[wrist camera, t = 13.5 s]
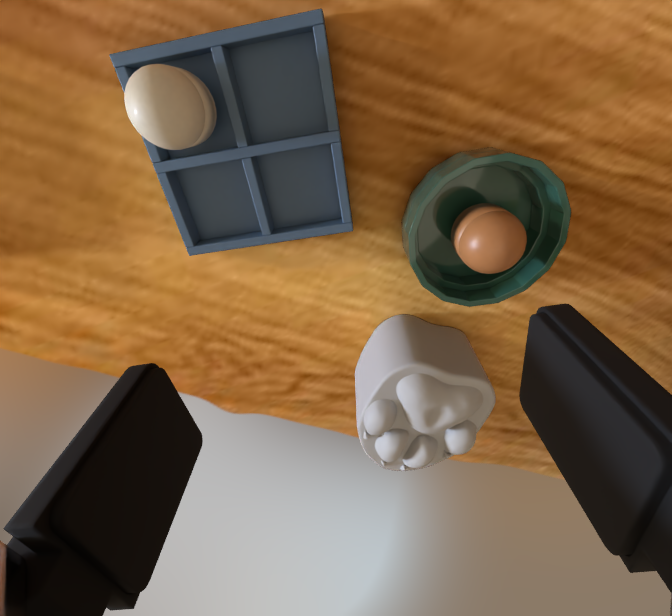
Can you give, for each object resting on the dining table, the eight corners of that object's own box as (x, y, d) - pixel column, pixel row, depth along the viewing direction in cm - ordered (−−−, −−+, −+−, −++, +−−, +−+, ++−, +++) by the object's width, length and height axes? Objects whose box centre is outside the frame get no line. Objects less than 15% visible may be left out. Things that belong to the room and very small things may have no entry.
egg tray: (126, 58, 23) (108, 54, 21) (323, 15, 21) (322, 7, 20) (198, 247, 29) (188, 256, 28) (352, 223, 28) (353, 231, 26)
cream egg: (149, 77, 23) (90, 68, 18) (212, 64, 23) (172, 51, 17) (175, 148, 25) (130, 160, 20) (233, 137, 25) (203, 146, 19)
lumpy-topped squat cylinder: (482, 336, 33) (522, 402, 26) (424, 423, 40) (442, 497, 32) (382, 306, 32) (394, 367, 25) (338, 402, 38) (337, 474, 31)
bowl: (396, 161, 26) (404, 170, 22) (551, 135, 25) (584, 140, 21) (405, 290, 31) (412, 314, 28) (532, 274, 30) (556, 295, 27)
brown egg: (444, 201, 27) (469, 225, 21) (503, 192, 26) (544, 214, 21) (444, 254, 29) (467, 288, 23) (498, 247, 28) (534, 279, 23)
